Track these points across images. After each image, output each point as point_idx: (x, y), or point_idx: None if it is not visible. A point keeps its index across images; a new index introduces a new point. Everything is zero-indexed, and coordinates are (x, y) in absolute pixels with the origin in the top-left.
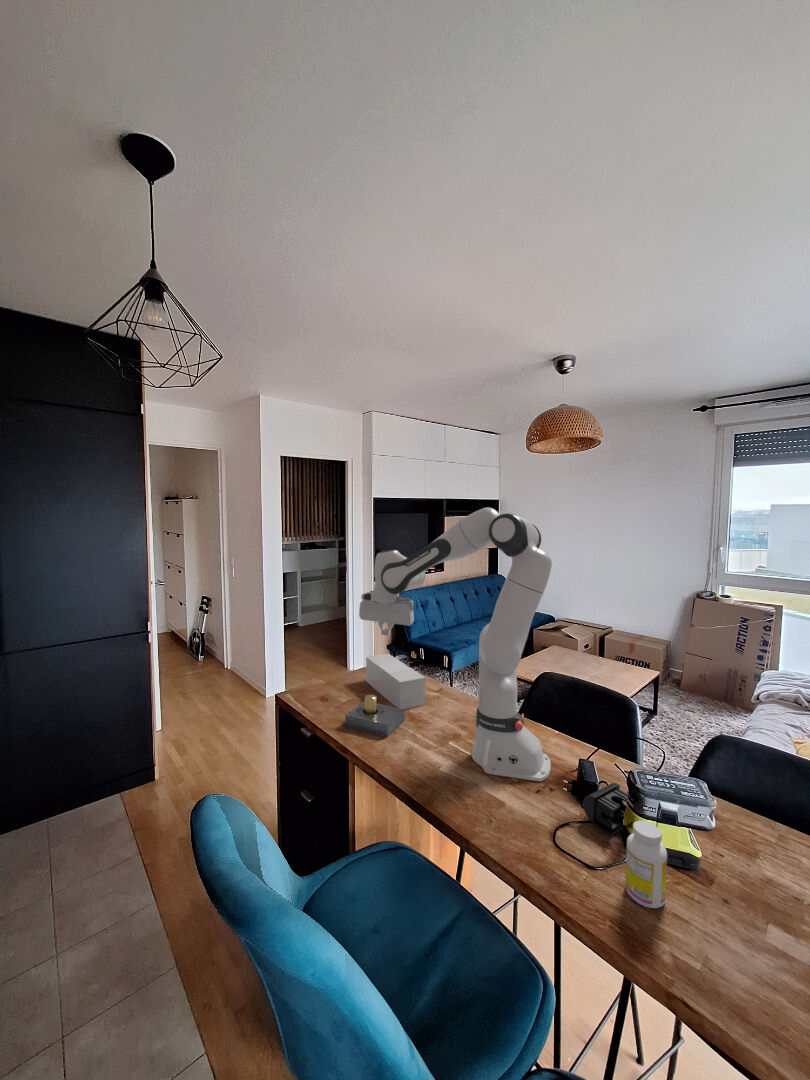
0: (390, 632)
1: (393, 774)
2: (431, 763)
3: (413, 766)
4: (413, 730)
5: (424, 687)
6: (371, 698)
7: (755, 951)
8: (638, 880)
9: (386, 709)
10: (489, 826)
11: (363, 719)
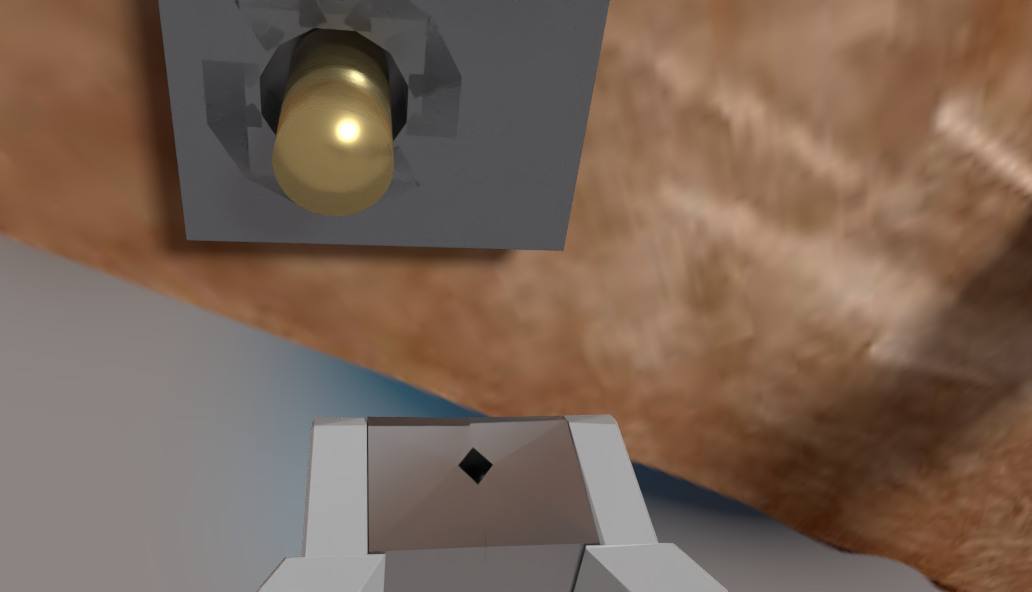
0: (623, 465)
1: (670, 453)
2: (831, 333)
3: (748, 381)
4: (695, 53)
5: None
6: (359, 193)
7: None
8: None
9: (456, 15)
10: (1007, 527)
11: (358, 244)
